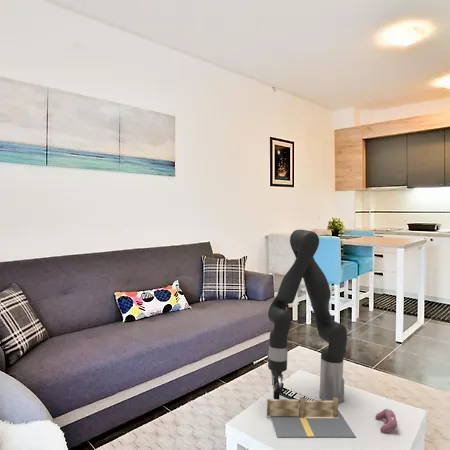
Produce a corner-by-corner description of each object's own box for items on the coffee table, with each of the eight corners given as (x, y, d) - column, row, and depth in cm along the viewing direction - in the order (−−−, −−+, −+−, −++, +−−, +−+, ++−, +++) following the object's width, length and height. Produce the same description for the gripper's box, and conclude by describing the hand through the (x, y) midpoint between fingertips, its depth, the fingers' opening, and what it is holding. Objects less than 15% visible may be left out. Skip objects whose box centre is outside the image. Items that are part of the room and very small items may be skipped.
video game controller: (391, 439, 130) (401, 423, 129) (379, 431, 131) (389, 416, 130) (384, 423, 139) (394, 408, 139) (373, 416, 140) (383, 402, 139)
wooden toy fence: (336, 415, 141) (337, 397, 141) (338, 419, 139) (339, 400, 138) (298, 415, 140) (299, 396, 140) (299, 419, 138) (300, 399, 138)
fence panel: (297, 414, 140) (298, 399, 139) (298, 416, 138) (299, 401, 138) (266, 414, 139) (267, 399, 139) (267, 416, 138) (267, 400, 138)
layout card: (337, 408, 146) (337, 407, 146) (355, 437, 127) (355, 436, 127) (268, 408, 145) (268, 407, 145) (277, 437, 126) (277, 436, 126)
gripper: (291, 363, 137) (289, 408, 138) (283, 350, 150) (281, 391, 151) (271, 363, 137) (270, 408, 137) (265, 350, 150) (264, 391, 151)
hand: (276, 399), depth 144 cm, fingers closed
